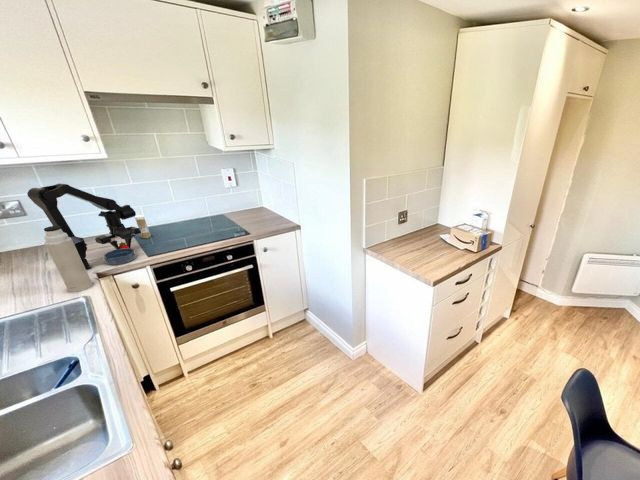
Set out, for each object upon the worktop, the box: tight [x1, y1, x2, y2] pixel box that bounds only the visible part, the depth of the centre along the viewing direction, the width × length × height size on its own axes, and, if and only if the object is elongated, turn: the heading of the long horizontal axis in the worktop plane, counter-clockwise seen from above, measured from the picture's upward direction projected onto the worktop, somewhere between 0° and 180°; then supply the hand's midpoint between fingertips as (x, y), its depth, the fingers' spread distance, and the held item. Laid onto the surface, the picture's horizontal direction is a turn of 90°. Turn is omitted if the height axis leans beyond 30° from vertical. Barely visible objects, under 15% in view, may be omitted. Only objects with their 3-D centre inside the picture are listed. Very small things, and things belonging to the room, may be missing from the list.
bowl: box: [102, 248, 137, 266], centre depth 165 cm, size 12×12×4 cm
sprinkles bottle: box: [134, 214, 152, 239], centre depth 190 cm, size 5×5×14 cm
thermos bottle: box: [43, 225, 93, 293], centre depth 135 cm, size 8×8×28 cm
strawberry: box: [118, 241, 130, 249], centre depth 173 cm, size 4×4×6 cm
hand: (124, 249), depth 174 cm, fingers open, 5 cm apart
